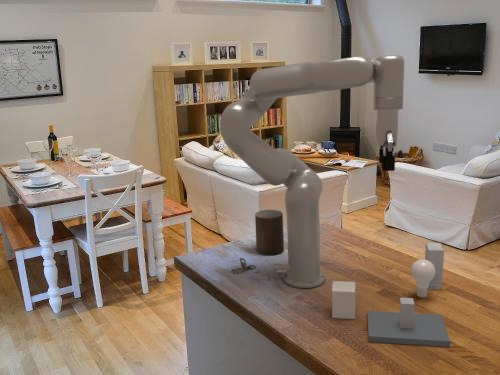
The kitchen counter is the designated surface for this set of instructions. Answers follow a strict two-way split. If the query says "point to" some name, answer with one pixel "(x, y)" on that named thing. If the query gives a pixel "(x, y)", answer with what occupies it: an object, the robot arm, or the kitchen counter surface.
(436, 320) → the post board
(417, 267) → the lightbulb
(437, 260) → the skincare box
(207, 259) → the kitchen counter surface
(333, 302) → the cream block
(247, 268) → the strap clip
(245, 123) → the robot arm
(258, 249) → the pillar candle
